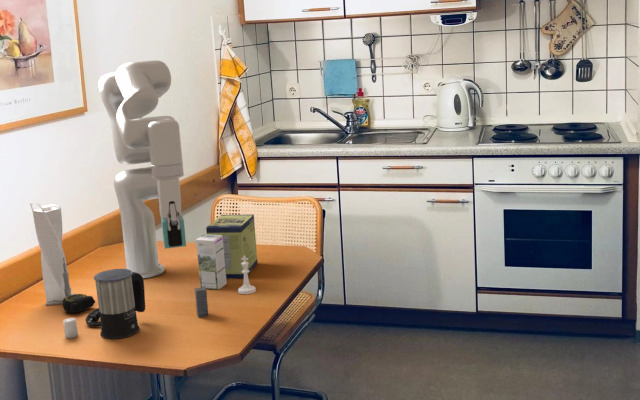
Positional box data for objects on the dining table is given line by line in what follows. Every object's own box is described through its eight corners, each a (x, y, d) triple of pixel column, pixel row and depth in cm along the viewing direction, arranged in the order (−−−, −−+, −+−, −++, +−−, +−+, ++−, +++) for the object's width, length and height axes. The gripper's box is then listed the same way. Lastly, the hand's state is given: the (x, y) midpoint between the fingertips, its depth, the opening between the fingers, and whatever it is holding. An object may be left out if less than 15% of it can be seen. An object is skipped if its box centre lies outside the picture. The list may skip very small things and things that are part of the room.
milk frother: (129, 340, 193) (123, 280, 190) (68, 339, 196) (60, 280, 193) (152, 318, 206) (146, 262, 203) (94, 317, 209) (87, 262, 206)
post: (197, 314, 208) (194, 288, 206) (207, 312, 208) (204, 286, 207) (198, 317, 205) (195, 291, 204) (208, 316, 206) (206, 289, 204)
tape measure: (75, 317, 211) (74, 303, 210) (58, 313, 215) (56, 299, 214) (96, 308, 217) (94, 295, 216) (78, 304, 220) (77, 291, 220)
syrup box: (227, 283, 231) (223, 234, 227) (218, 290, 225) (213, 239, 222) (209, 282, 233) (204, 233, 229) (199, 289, 227) (195, 239, 224)
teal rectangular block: (163, 243, 204) (160, 217, 203) (184, 241, 205) (181, 215, 204) (164, 248, 199) (162, 222, 198) (186, 246, 200) (183, 220, 199)
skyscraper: (40, 306, 220) (26, 205, 214) (45, 296, 228) (32, 199, 222) (72, 302, 222) (59, 202, 216) (76, 293, 229) (63, 196, 223)
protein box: (258, 263, 249) (254, 213, 245) (244, 279, 234) (240, 226, 230) (225, 263, 251) (221, 214, 247) (209, 279, 236) (205, 227, 232)
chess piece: (253, 294, 220) (250, 258, 218) (235, 293, 221) (232, 258, 219) (258, 288, 225) (255, 253, 223) (241, 288, 226) (238, 253, 224)
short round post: (65, 334, 199) (63, 319, 198) (78, 332, 199) (76, 317, 199) (65, 338, 196) (62, 323, 195) (77, 337, 197) (75, 321, 196)
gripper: (150, 166, 205) (157, 236, 209) (153, 178, 189) (161, 253, 193) (180, 164, 207) (186, 233, 211) (186, 175, 191) (193, 249, 195)
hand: (174, 242), depth 202 cm, fingers closed on teal rectangular block, 5 cm apart
